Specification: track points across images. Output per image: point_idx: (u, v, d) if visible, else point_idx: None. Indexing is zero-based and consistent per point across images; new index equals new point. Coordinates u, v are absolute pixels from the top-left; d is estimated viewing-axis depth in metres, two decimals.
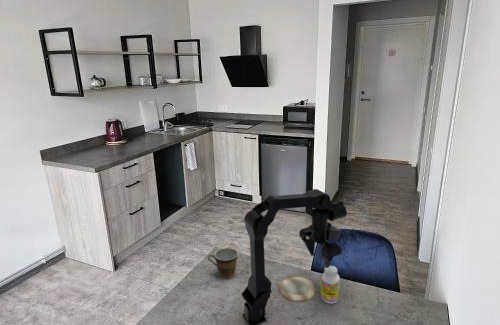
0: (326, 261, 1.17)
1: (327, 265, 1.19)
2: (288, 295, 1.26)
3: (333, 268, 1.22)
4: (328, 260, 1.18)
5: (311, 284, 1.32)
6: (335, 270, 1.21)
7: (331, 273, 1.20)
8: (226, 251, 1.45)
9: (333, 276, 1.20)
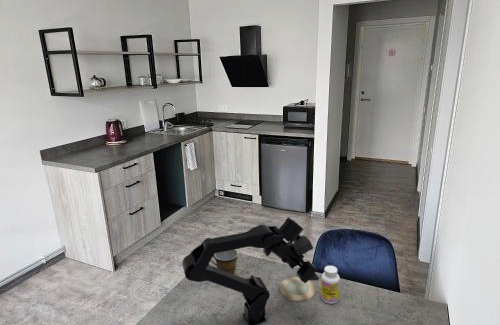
0: (310, 279, 1.13)
1: (315, 279, 1.14)
2: (288, 295, 1.26)
3: (333, 268, 1.22)
4: (312, 277, 1.13)
5: (311, 284, 1.32)
6: (335, 270, 1.21)
7: (331, 273, 1.20)
8: (226, 251, 1.45)
9: (333, 276, 1.20)
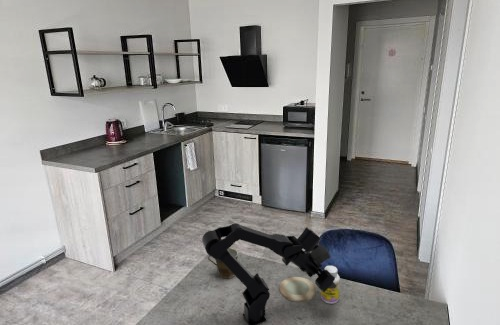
0: (328, 287, 1.16)
1: (333, 287, 1.18)
2: (288, 295, 1.26)
3: (333, 268, 1.22)
4: (330, 285, 1.16)
5: (311, 284, 1.32)
6: (335, 270, 1.21)
7: (331, 273, 1.20)
8: None
9: None
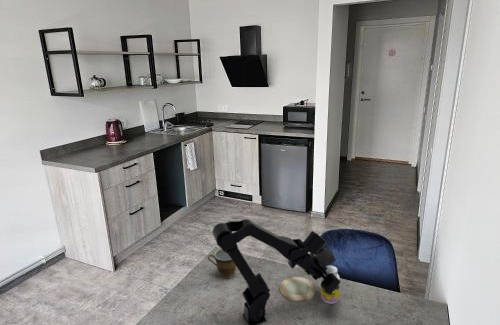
0: None
1: (336, 288, 1.20)
2: (288, 295, 1.26)
3: (333, 268, 1.22)
4: None
5: (311, 284, 1.32)
6: (335, 270, 1.21)
7: None
8: None
9: None
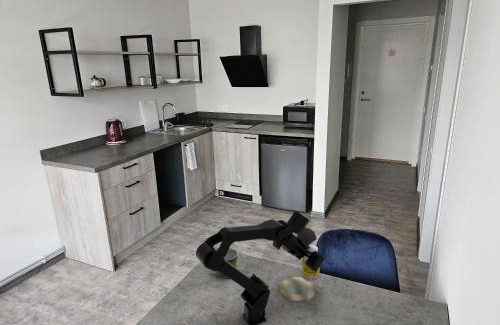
0: None
1: None
2: (288, 295, 1.26)
3: (313, 247, 1.24)
4: None
5: (311, 284, 1.32)
6: (316, 248, 1.23)
7: None
8: None
9: None
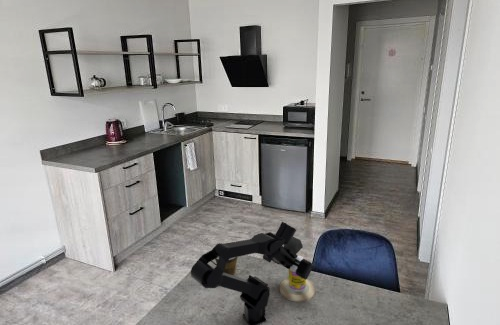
0: None
1: None
2: (288, 295, 1.26)
3: (299, 257, 1.28)
4: None
5: (311, 284, 1.32)
6: (301, 258, 1.27)
7: None
8: None
9: None
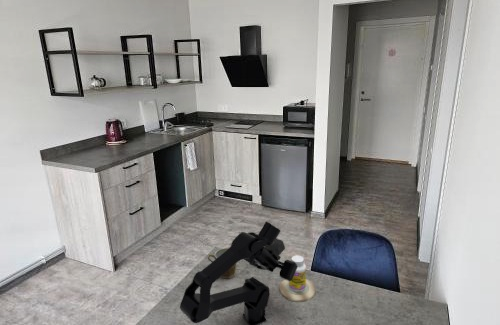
0: None
1: None
2: (288, 295, 1.26)
3: (299, 257, 1.27)
4: None
5: (311, 284, 1.32)
6: (302, 258, 1.27)
7: (300, 262, 1.25)
8: None
9: (301, 264, 1.26)
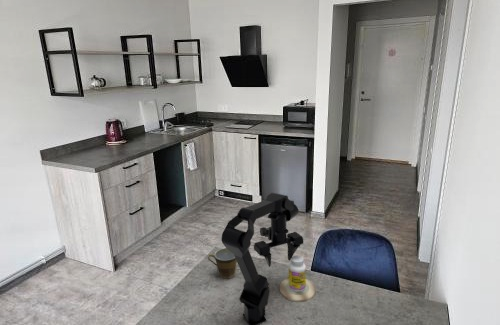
0: None
1: None
2: (288, 295, 1.26)
3: (299, 257, 1.28)
4: None
5: (311, 284, 1.32)
6: (302, 258, 1.27)
7: (299, 262, 1.25)
8: (226, 251, 1.45)
9: (301, 264, 1.26)
